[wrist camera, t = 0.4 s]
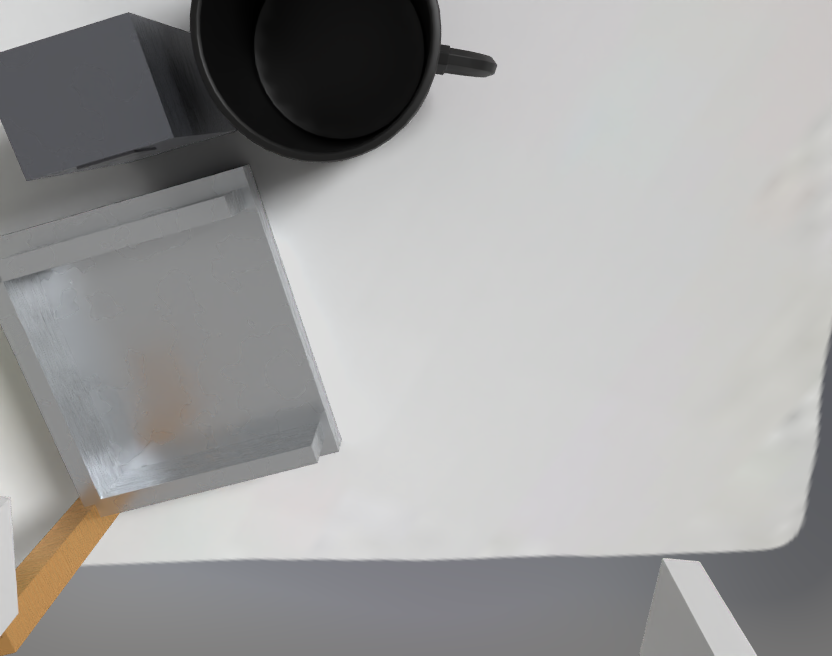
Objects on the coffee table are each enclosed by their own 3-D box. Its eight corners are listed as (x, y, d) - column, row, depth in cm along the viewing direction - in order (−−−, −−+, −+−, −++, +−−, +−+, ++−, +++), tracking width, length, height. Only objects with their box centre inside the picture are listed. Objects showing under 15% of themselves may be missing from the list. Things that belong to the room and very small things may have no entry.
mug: (471, 170, 37) (486, 188, 29) (237, 136, 37) (181, 144, 28) (503, -30, 35) (531, -77, 26) (252, -70, 34) (195, -130, 26)
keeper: (-2, 236, 38) (-216, 301, 25) (249, 164, 37) (158, 193, 24) (114, 497, 43) (-19, 664, 30) (341, 439, 42) (306, 587, 29)
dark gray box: (92, 71, 36) (-26, 57, 26) (206, 36, 36) (127, 9, 26) (128, 164, 37) (27, 183, 28) (238, 132, 37) (174, 140, 27)
